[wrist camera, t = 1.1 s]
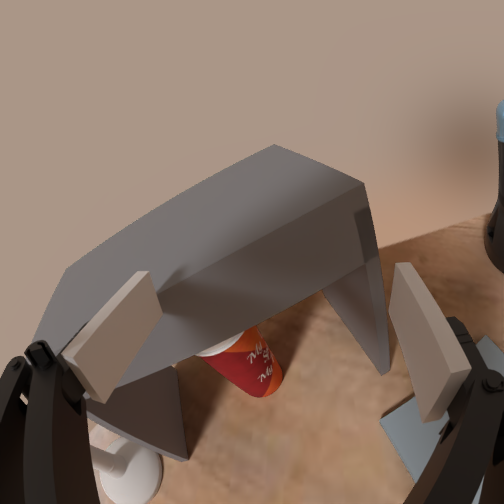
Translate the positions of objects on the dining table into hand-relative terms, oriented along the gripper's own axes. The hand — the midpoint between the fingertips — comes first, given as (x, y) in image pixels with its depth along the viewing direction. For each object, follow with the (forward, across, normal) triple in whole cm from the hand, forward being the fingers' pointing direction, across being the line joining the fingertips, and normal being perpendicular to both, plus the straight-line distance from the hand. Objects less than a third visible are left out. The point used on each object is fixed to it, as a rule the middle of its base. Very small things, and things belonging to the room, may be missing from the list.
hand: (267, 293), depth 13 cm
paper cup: (+13, -4, -22) cm, 26 cm away
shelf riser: (+13, -4, -22) cm, 26 cm away
